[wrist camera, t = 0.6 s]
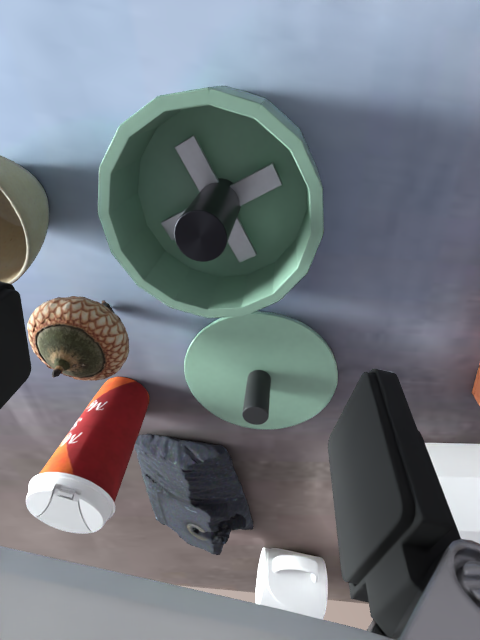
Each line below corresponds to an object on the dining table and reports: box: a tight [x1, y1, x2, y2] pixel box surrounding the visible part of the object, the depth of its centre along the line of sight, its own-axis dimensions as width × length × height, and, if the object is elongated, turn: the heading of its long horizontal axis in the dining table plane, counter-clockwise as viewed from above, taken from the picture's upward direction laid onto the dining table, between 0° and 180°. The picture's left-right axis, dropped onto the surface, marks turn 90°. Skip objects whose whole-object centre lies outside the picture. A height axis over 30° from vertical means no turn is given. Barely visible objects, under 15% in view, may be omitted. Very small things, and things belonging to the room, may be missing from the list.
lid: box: [184, 311, 338, 429], centre depth 35 cm, size 16×16×6 cm
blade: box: [161, 135, 282, 263], centre depth 25 cm, size 10×10×8 cm
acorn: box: [27, 296, 129, 380], centre depth 31 cm, size 8×8×10 cm
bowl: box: [98, 86, 324, 318], centre depth 26 cm, size 15×15×6 cm
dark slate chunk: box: [134, 434, 254, 555], centre depth 49 cm, size 15×22×5 cm
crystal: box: [425, 443, 480, 544], centre depth 43 cm, size 14×10×28 cm
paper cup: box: [26, 377, 149, 533], centre depth 37 cm, size 8×8×14 cm
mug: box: [256, 547, 328, 620], centre depth 55 cm, size 12×9×8 cm
